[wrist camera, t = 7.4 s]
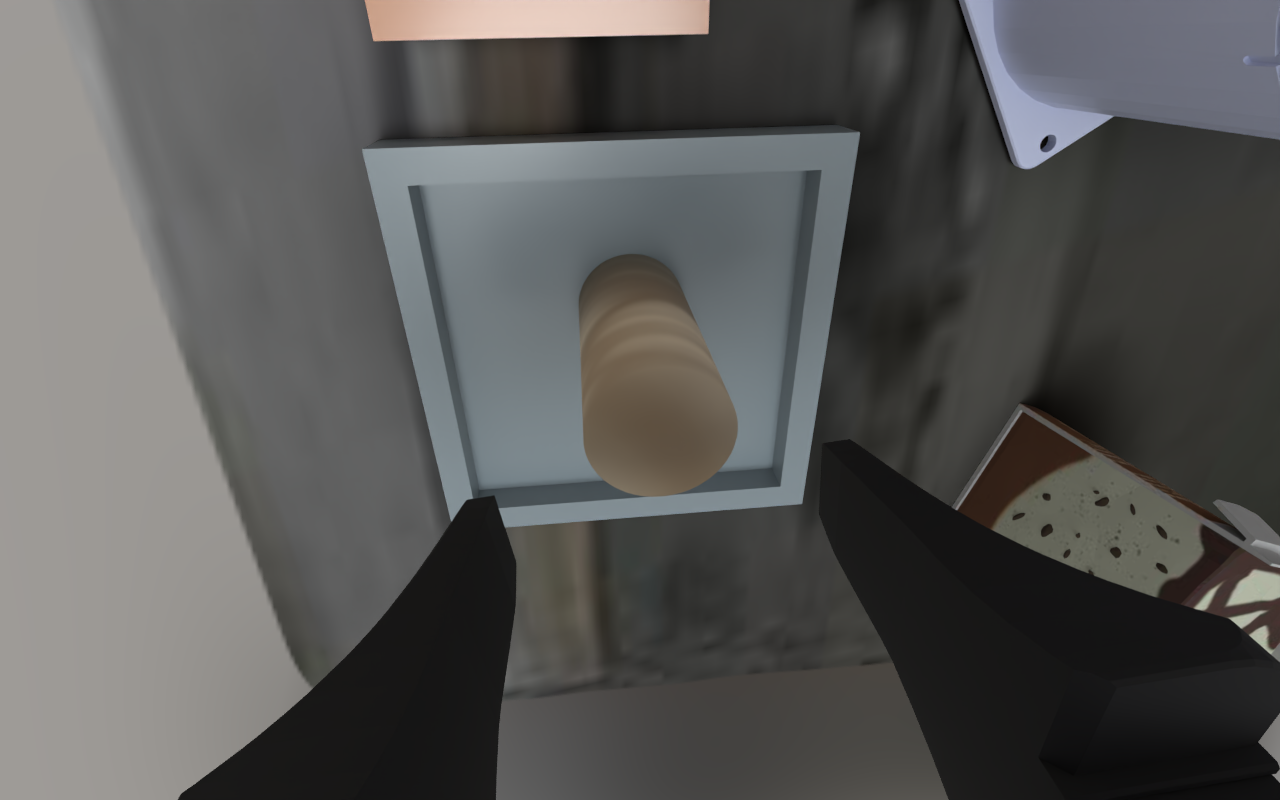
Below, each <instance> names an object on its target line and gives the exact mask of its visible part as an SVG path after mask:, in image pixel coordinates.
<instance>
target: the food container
mask: <svg viewBox="0 0 1280 800" xmlns="http://www.w3.org/2000/svg"><path fill="white" fill-rule="evenodd" d="M1213 503H1214V504H1215V505H1216V506H1217V507H1218V509H1219V510H1220V511H1221V512H1222V513H1223V514H1224V515H1225V516H1226V517H1227V518H1228V519H1229V520H1230V521H1231V522H1232V524H1233V525H1234V526H1235V527H1236V528H1237V529H1236V528H1235V527H1233V526H1231V525H1230V524H1228V523H1226V522H1225V521H1223V520H1221V519H1220V518H1218V517H1217V516H1215V515H1213V514H1212V513H1210V512H1208V511H1207V510H1205V509H1203V508H1202V507H1200V506H1199V505H1197V504H1195V503H1194V502H1192V501H1190V500H1189V499H1187V498H1185V497H1184V496H1182V495H1180V494H1179V493H1177V492H1176V491H1174V490H1172V489H1171V488H1169V487H1167V486H1166V485H1164V484H1162V483H1161V482H1159V481H1158V480H1156V479H1154V478H1153V477H1151V476H1149V475H1148V474H1146V473H1144V472H1143V471H1141V470H1139V469H1138V468H1136V467H1135V466H1133V465H1131V464H1130V463H1128V462H1126V461H1125V460H1123V459H1121V458H1120V457H1118V456H1117V455H1115V454H1113V453H1112V452H1110V451H1108V450H1107V449H1105V448H1103V447H1102V446H1100V445H1099V444H1097V443H1095V442H1094V441H1092V440H1090V439H1089V438H1087V437H1085V436H1084V435H1082V434H1080V433H1079V432H1077V431H1076V430H1074V429H1072V428H1071V427H1069V426H1067V425H1066V424H1064V423H1062V422H1061V421H1059V420H1058V419H1056V418H1054V417H1053V416H1051V415H1049V414H1048V413H1046V412H1044V411H1042V410H1040V409H1038V408H1036V407H1033V406H1029V405H1025V404H1022V403H1019V405H1018V406H1017V408H1016V409H1015V411H1014V412H1013V414H1012V415H1011V417H1010V419H1009V420H1008V422H1007V423H1006V425H1005V426H1004V428H1003V429H1002V431H1001V432H1000V434H999V435H998V437H997V438H996V440H995V442H994V443H993V445H992V446H991V448H990V449H989V451H988V452H987V454H986V455H985V457H984V458H983V460H982V461H981V463H980V465H979V466H978V468H977V469H976V471H975V472H974V474H973V475H972V477H971V478H970V480H969V481H968V483H967V484H966V486H965V487H964V489H963V491H962V492H961V494H960V495H959V497H958V498H957V500H956V501H955V503H954V504H953V506H952V508H954V509H955V510H957V511H959V512H961V513H962V514H964V515H966V516H967V517H969V518H971V519H973V520H974V521H976V522H978V523H980V524H982V525H984V526H985V527H987V528H989V529H991V530H993V531H995V532H997V533H999V534H1001V535H1003V536H1005V537H1007V538H1009V539H1011V540H1013V541H1015V542H1017V543H1019V544H1021V545H1023V546H1025V547H1027V548H1030V549H1032V550H1034V551H1036V552H1038V553H1041V554H1043V555H1045V556H1048V557H1050V558H1052V559H1055V560H1057V561H1060V562H1062V563H1064V564H1067V565H1069V566H1071V567H1074V568H1076V569H1079V570H1081V571H1084V572H1086V573H1089V574H1092V575H1094V576H1097V577H1100V578H1102V579H1105V580H1107V581H1110V582H1113V583H1116V584H1119V585H1122V586H1125V587H1128V588H1130V589H1133V590H1136V591H1139V592H1142V593H1145V594H1148V595H1151V596H1154V597H1157V598H1160V599H1164V600H1167V601H1171V602H1174V603H1177V604H1181V605H1184V606H1188V607H1191V608H1194V609H1198V610H1201V611H1205V612H1208V613H1212V614H1215V615H1218V616H1222V617H1225V618H1229V619H1231V620H1232V621H1233V622H1234V623H1235V624H1237V625H1238V626H1239V627H1240V628H1241V629H1243V630H1244V631H1245V632H1246V633H1247V634H1248V635H1249V636H1250V637H1252V638H1253V639H1254V640H1255V641H1256V642H1257V643H1258V644H1260V645H1261V646H1262V647H1263V648H1264V649H1265V650H1266V651H1268V652H1269V653H1270V654H1271V655H1272V656H1273V657H1274V658H1276V659H1277V660H1278V661H1279V662H1280V537H1279V536H1278V535H1277V534H1276V533H1275V532H1274V531H1273V530H1272V529H1271V528H1270V527H1269V526H1268V525H1267V524H1266V523H1265V522H1264V521H1263V520H1262V519H1261V518H1260V517H1259V516H1258V515H1257V514H1255V513H1253V512H1251V511H1249V510H1247V509H1245V508H1243V507H1241V506H1239V505H1236V504H1232V503H1229V502H1225V501H1221V500H1216V501H1215V502H1213Z"/></svg>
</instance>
